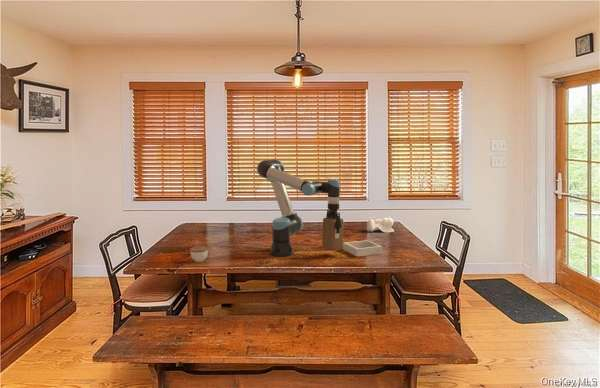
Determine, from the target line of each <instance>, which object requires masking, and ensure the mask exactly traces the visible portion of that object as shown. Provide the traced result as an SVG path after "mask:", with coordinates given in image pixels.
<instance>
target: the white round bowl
mask: <svg viewBox="0 0 600 388" xmlns="http://www.w3.org/2000/svg"><path fill="white" fill-rule="evenodd" d="M189 250H190V256H191V259H192V260H193V261H194V262H197V263H200V262H201V263H202V262H203V261H205V260H206V259H207V257H208V255H209V253H208V252H209V248H208V247H207V246H201V245H197V246H193V247H190V249H189Z"/></svg>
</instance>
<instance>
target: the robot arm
mask: <svg viewBox="0 0 600 388" xmlns="http://www.w3.org/2000/svg"><path fill="white" fill-rule="evenodd" d="M256 172H257V174H258V175H259V176H260V177H261V178H263V179H266V180H267V181H268V182H269V183H271V186H272V190H273V192H274V195H275V198H276V201H277V204H278V207H279V211H280V213H281V217H278V218H275V219H273V221H272V225H271V226H272V227H271V228H272V231H271V232H272V243H271V246H270V250H269V254H270V255H271V256H274V257H288V256H292V255H293V253H294V250H293V247H292V243H291V236H292V235H297V234H298V233H300V232H301V231H302V229H303V228H304V222H303V219H302V218H301V217H300V216H299V215H298V213H297V212H296V211H294V208H293V205H292V203H291V199H290V196H289V194H288V190H287V187H290V188H292V189H294V190H297V191H299V192H302V194H303V195H305V196H313V195H317V194H327V209H326V216H325V218H328V217H329V218H333V219H334V220H336V222H335V238H339V228H341V221H340V218H341V212H338V210H339V209H340V191H341V189H340V188H341V186H340V185H341V183H340V179H338V178H330V179H328V180H327V181H320V180H318V181H317V180H313V181H312V182H310V181H308V180H305V179H303V178H300V177H298V176H295V175H293V174H290V173H288V172H285V165H284V163H283V162H282V161H281V160H279V159H267V160H266V159H263V160H262V161H260V162H258V164H257V167H256ZM286 186H287V187H286Z"/></svg>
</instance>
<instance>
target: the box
mask: <svg viewBox="0 0 600 388" xmlns="http://www.w3.org/2000/svg"><path fill="white" fill-rule="evenodd" d="M342 249H343V251H344V252H347V253H349V254H350V255H352V256H355V257H357V258H358V257H359V258H360V257H367V256H368V257H369V256H374V255H382V254H383V246H381V245H379V244H378V243H376V242H375V243H374V242H372V241H370V240H368V239H366V240H357V241H348V242H347V241H346V242H343V248H342Z"/></svg>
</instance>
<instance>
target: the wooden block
mask: <svg viewBox="0 0 600 388" xmlns="http://www.w3.org/2000/svg"><path fill="white" fill-rule="evenodd" d="M340 221H341V228H339V238H335V222H336V220H334V219H333V218H329V217H328V218H326V217H324V218H322V243H321V244H322V246H321V247H322V248H323V249H326V250H329V251H336V250H342V249H343V243H344V219H343V218H341V217H340Z"/></svg>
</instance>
